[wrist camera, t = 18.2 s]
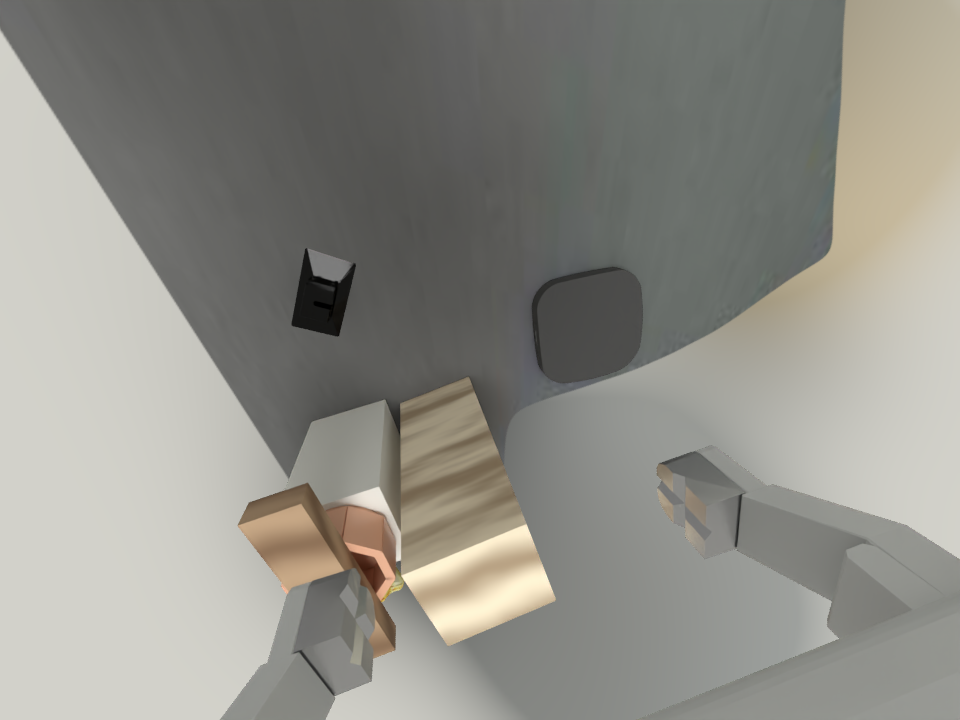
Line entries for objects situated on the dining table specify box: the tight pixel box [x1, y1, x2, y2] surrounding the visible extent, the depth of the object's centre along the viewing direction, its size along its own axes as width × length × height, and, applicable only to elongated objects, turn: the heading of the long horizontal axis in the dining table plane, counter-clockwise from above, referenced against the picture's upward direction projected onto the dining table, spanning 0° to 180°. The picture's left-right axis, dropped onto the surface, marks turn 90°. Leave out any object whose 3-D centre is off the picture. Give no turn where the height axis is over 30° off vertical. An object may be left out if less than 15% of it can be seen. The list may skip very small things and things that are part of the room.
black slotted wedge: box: [292, 248, 356, 336], centre depth 42 cm, size 12×7×5 cm, turn 160°
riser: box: [285, 400, 401, 562], centre depth 45 cm, size 10×10×17 cm
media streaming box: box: [532, 267, 643, 383], centre depth 51 cm, size 15×15×3 cm
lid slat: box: [238, 483, 396, 658], centre depth 31 cm, size 19×4×2 cm, turn 15°
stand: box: [400, 377, 556, 646], centre depth 42 cm, size 10×10×26 cm
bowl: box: [281, 506, 396, 601], centre depth 35 cm, size 9×9×4 cm
